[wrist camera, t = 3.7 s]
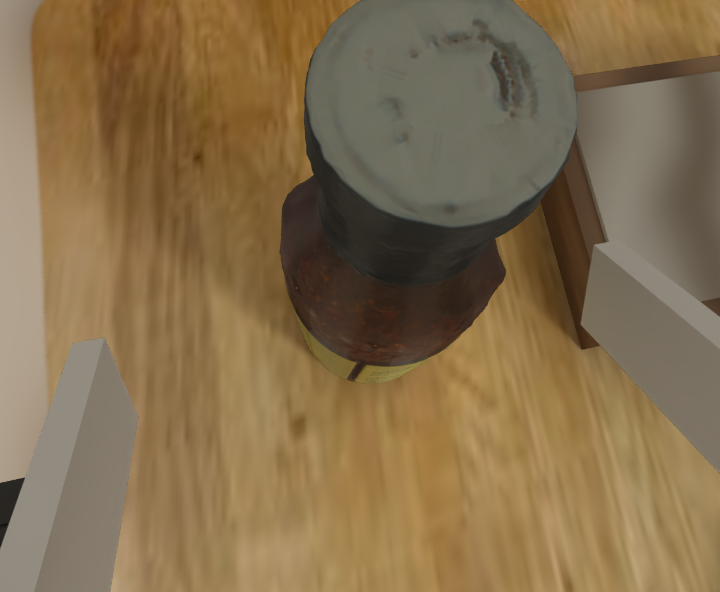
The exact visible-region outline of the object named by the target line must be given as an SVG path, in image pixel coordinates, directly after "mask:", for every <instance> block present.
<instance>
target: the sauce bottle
mask: <svg viewBox="0 0 720 592" xmlns="http://www.w3.org/2000/svg"><path fill="white" fill-rule="evenodd" d="M304 104H305V110H304V125H305V140H306V152H307V156H308V158H309V160H310V162H311V166H312V171H313V173H314V175H313V176H312V177H311V178H309V179H308V180H307V181H305V182H303V183H301V184H299V185H297V186H296V187H295V188H294V189H293V190H292V191H291V192H290V193H289V194H288V195H287V197H286V200H285V202H284V204H283V207H282V226H281V246H280V254H281V261H282V268H283V271H284V275H285V282H286V288H287V292H288V295H289V299H290V302H291V304H292V307H293V310H294V313H295V315H296V318H297V320H298V323H299V325H300V328H301V331H302V333H303V336H304V338H305V341H306V343H307V345H308V347H309V349H310V350H311V352H312V353H313V355H314V356H315V358H316V359H317V360H318V361H319V362H320V363H321V364H322V365H323V366H324V367H325V368H327V369H328V370H329V371H330V372H332V373H333V374H335V375H337V376H339V377H341V378H343V379H348V380H350V381H353V382H357V383H365V384H375V383H382V382H387V381H391V380H394V379H397V378H399V377H401V376H403V375H404V374H406V373H408V372H409V371H411V370H413V369H414V368H416V367H417V366H419V365H420V364H422V363H423V362H425V361H427V360H429V359H430V358H432V357H433V356H435V355H437V354H438V353H440V352H441V351H443V350H444V349H446V348H447V347H449V346H450V345H451V344H452V343H453V342H454V341H455V340H456V339H457V338H459V337H460V335H461V334H462V333H463V332H464V331H465V330H466V329H467V328H469V327H470V326H471V325H472V323H473V321H474V320H475V319H476V318H477V317H478V316H479V314H480V313H481V312H483V310H484V309H485V308H486V306H487V304H488V302H489V300H490V298H491V296H492V295H493V293H494V292H495V290H496V289H497V288H498V286H499V285H500V284H501V283H502V282H503V280H504V277H505V275H506V270H505V267H504V265H503V263H502V261H501V258H500V256H499V253H498V249H497V245H496V240H495V238H497V237H499V236H501V235H503V234H505V233H506V232H508V231H509V230H511V229H512V228H514V227H515V226H516V225H518V224H519V223H521V222H522V221H523V220H524V219H525V218H526V217H527V216H528V215H530V214H531V213H532V212H533V210H534V209H535V208H536V206H537V205H538V204H539V202H540V201H541V200H542V198H543V197H544V195H545V193H546V192H547V191H548V189H549V188H550V187H551V185H552V184H553V182H554V181H555V179H556V178H557V177H558V175H559V174H560V173H561V171H562V169H563V168H564V166H565V164H566V163H567V161H568V160H569V154H570V149H571V147H572V144H573V141H574V138H575V135H576V132H577V94H576V91H575V83H574V78H573V76H572V74H571V71H570V69H569V67H568V65H567V64H566V62H565V60H564V58H563V57H562V55H561V53H560V51H559V49H558V47H557V46H556V44H555V43H554V42H553V41H552V39H551V38H550V37H549V36H548V34H547V33H546V32H545V31H544V30H543V28H542V27H541V26H540V25H539V24H538V23H536V22H535V21H534V20H533V19H532V18H531V17H530V16H529V15H527V14H526V13H525V12H524V11H523V10H522V9H521V8H520V7H519V6H518V5H517V4H516V3H515V2H514V1H512V0H361V1H359V2H358V3H356V4H355V5H353V6H352V7H351V8H349V9H348V10H347V11H345V12H344V13H343V14H342V15H341V16H340V17H339V18H338V19H337V20H335V21H334V22H333V23H332V25H331V26H330V27H329V29H328V31H327V32H326V34H325V36H324V38H323V40H322V41H321V42H320V43H319V45H318V46H317V47H316V48H315V50H314V53H313V55H312V57H311V59H310V64H309V70H308V72H307V77H306V83H305V97H304Z"/></svg>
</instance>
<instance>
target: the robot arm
mask: <svg viewBox="0 0 720 592" xmlns="http://www.w3.org/2000/svg"><path fill="white" fill-rule="evenodd" d="M581 325H582V326H583V328H584V329H585V330H586V331H587V332H588V333H589V334H590V335H591V336H592V337H593V338H594V339H595V340H596V341H597V343H598V344H599V345H600V346H601V347H602V348H603V349H604V350H605V351H606V352H607V353H608V354H609V355H610V357H611V358H612V359H613V360H614V361H615V362H616V363H617V364H618V365H619V366H620V367H621V368H622V369H623V371H624V372H625V373H626V374H627V375H628V376H629V377H630V378H631V379H632V380H633V381H634V382H635V383H636V384H637V386H638V387H639V388H640V389H641V390H642V391H643V392H644V393H645V394H646V395H647V396H648V397H649V398H650V400H651V401H652V402H653V403H654V404H655V405H656V406H657V407H658V408H659V409H660V410H661V411H662V412H663V414H664V415H665V416H666V417H667V418H668V419H669V420H670V421H671V422H672V423H673V424H674V425H675V426H676V427H677V429H678V430H679V431H680V432H681V433H682V434H683V435H684V436H685V437H686V438H687V439H688V440H689V441H690V443H691V444H692V445H693V446H694V447H695V448H696V449H697V450H698V451H699V452H700V453H701V454H702V455H703V457H704V458H705V459H706V460H707V461H708V462H709V463H710V464H711V465H712V466H713V467H714V468H715V469H716V470H717V472H718V473H719V474H720V317H719V316H718V315H717V314H715V313H714V312H713V311H712V310H710V309H709V308H708V307H706V306H705V305H704V304H702V303H701V302H700V301H698V300H697V299H696V298H694V297H693V296H692V295H691V294H689V293H688V292H687V291H685V290H684V289H683V288H681V287H680V286H679V285H677V284H676V283H675V282H674V281H672V280H671V279H670V278H668V277H667V276H666V275H664V274H663V273H662V272H660V271H659V270H658V269H656V268H655V267H654V266H653V265H651V264H650V263H649V262H647V261H646V260H645V259H643V258H642V257H641V256H639V255H638V254H637V253H635V252H634V251H633V250H632V249H630V248H629V247H628V246H626V245H625V244H624V243H622V242H621V241H620V240H617V241H611V242H606V243H601V244H595V245H594V247H593V253H592V259H591V265H590V271H589V277H588V283H587V289H586V295H585V301H584V307H583V313H582V319H581ZM137 423H138V414H137V412H136V409H135V407H134V405H133V402H132V400H131V398H130V395H129V393H128V391H127V388H126V386H125V384H124V381H123V379H122V377H121V374H120V372H119V370H118V367H117V365H116V363H115V360H114V358H113V356H112V353H111V351H110V349H109V346H108V344H107V342H106V339H105V337H104V338H99V339H93V340H88V341H83V342H78V343H72V346H71V349H70V352H69V355H68V357H67V360H66V363H65V366H64V369H63V372H62V374H61V377H60V380H59V383H58V386H57V389H56V392H55V394H54V397H53V400H52V403H51V406H50V409H49V411H48V414H47V417H46V420H45V423H44V426H43V429H42V431H41V434H40V437H39V440H38V443H37V446H36V449H35V451H34V455H33V457H32V460H31V463H30V466H29V469H28V471H27V474H26V477H25V478H21V479H16V480H12V481H7V482H2V483H0V592H110V590H111V584H112V577H113V571H114V565H115V559H116V553H117V546H118V540H119V534H120V528H121V522H122V515H123V509H124V503H125V497H126V491H127V485H128V478H129V472H130V466H131V460H132V454H133V447H134V441H135V435H136V429H137Z"/></svg>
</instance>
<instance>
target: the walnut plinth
mask: <svg viewBox="0 0 720 592" xmlns="http://www.w3.org/2000/svg"><path fill="white" fill-rule="evenodd" d="M573 78H574V83H575V91H576V94H577V132H576V135H575V138H574V141H573V144H572V147H571V149H570V154H569V160H568V161H567V163H566V164H565V166H564V168H563V169H562V171H561V173H560V174H559V175H558V177H557V178H556V179H555V181H554V182H553V184H552V185H551V187H550V188H549V189H548V191H547V192H546V193H545V195H544V197H543V198H542V200H541V203H542V207H543V211H544V214H545V218H546V221H547V225H548V229H549V232H550V236H551V239H552V243H553V247H554V250H555V254H556V257H557V261H558V265H559V268H560V272H561V275H562V279H563V283H564V286H565V290H566V293H567V297H568V301H569V304H570V308H571V312H572V315H573V319H574V322H575V326H576V330H577V333H578V337H579V340H580V344H581V348H582V349H587V348H592V347H597V346H600V345H599V344H598V343H597V341H596V340H595V339H594V338H593V337H592V336H591V335H590V334H589V333H588V332H587V331H586V330H585V329H584V328H583V326H582V325H581V319H582V313H583V307H584V301H585V295H586V289H587V283H588V277H589V271H590V265H591V259H592V253H593V247H594V245H595V244H601V243H606V242H611V241H617V240H620V241H621V242H622V243H624V244H625V245H626V246H628V247H629V248H630V249H632V250H633V251H634V252H635V253H637V254H638V255H639V256H641V257H642V258H643V259H645V260H646V261H647V262H649V263H650V264H651V265H653V266H654V267H655V268H656V269H658V270H659V271H660V272H662V273H663V274H664V275H666V276H667V277H668V278H670V279H671V280H672V281H674V282H675V283H676V284H677V285H679V286H680V287H681V288H683V289H684V290H685V291H687V292H688V293H689V294H691V295H692V296H693V297H694V298H696V299H697V300H698V301H700V302H701V303H702V304H704V305H705V306H706V307H708V308H709V309H710V310H712V311H713V312H714V313H715V314H717V315H718V316H719V317H720V55H717V56H710V57H703V58H696V59H689V60H683V61H676V62H669V63H662V64H655V65H648V66H641V67H634V68H627V69H620V70H613V71H606V72H599V73H592V74H585V75H578V76H573Z"/></svg>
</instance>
